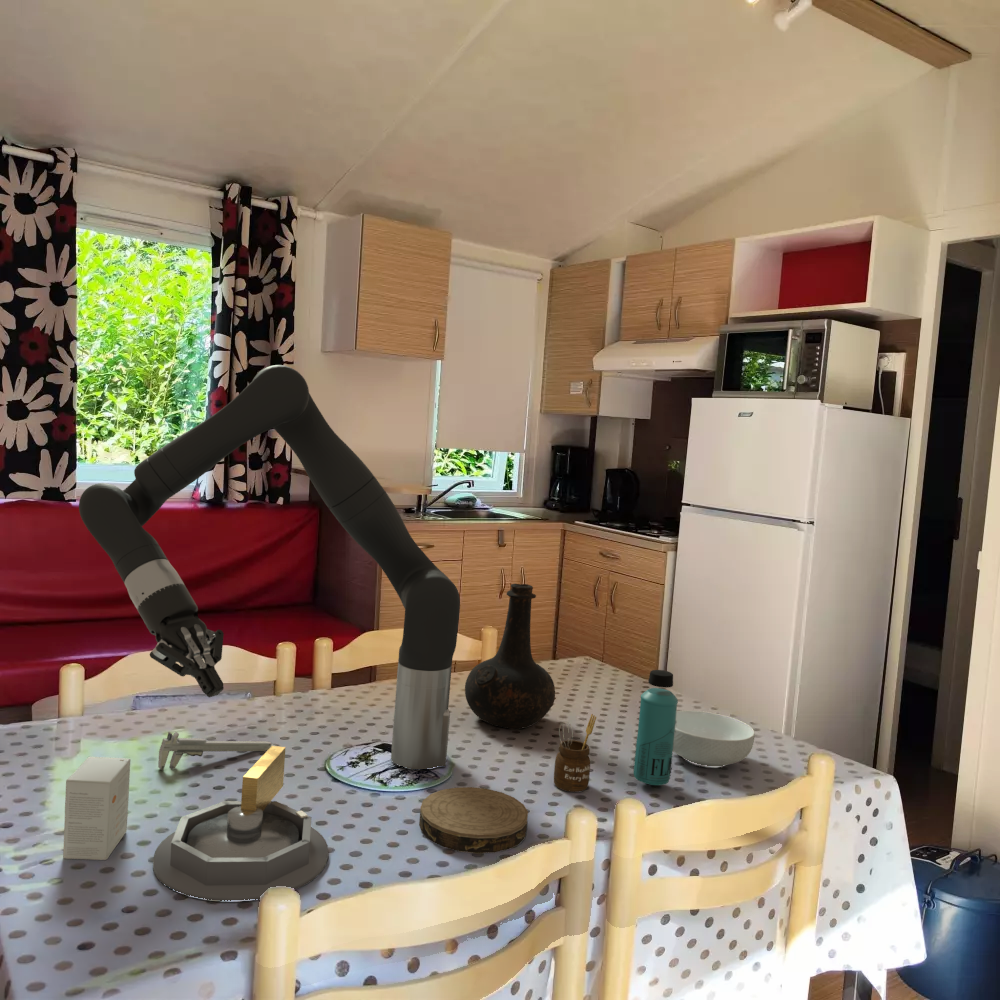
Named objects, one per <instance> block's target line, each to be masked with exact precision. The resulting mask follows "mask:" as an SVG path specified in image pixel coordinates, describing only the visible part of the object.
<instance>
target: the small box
mask: <svg viewBox="0 0 1000 1000" xmlns="http://www.w3.org/2000/svg"><path fill="white" fill-rule="evenodd" d="M130 774H131V758H124V757H106V756H105V757H104V756H102V757H101V756H88V757H87V758H86V759H85V760H84V761H83V762H82V763H81V764H80V765H79V766H78V768H76V770H75V771H74V772H73V773H72V774H71V775H70V776H69V777H68V778H67V779H66V780H65V802H64V803H65V806H64V825H63V826H64V829H63V850H62V851H63V852H62V854H63V855H62V858H63V859H65V860H66V859H67V860H72V859H73V860H93V861H107V860H108V858H109V857H110V855H111V854H112V853H113V852H114V850H115V848H116V847H117V845H119V843H120V841H121V840H122V838H123V837H124V836H125V834H126V833H127V830H128V816H129V815H128V814H129V812H128V811H129V795H130V794H129V793H130Z"/></svg>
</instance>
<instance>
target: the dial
mask: <svg viewBox="0 0 1000 1000" xmlns="http://www.w3.org/2000/svg"><path fill="white" fill-rule="evenodd" d="M286 748H287V747H286V746H277V745H275V746H271V747H270V748H269V750H267V751H265V753H264V754H262V756H261V757H260V758H259V759H258V760H257V761H256V762H255V763H254V764H253V765H252V766H251V768H249V770H248V771H246V773H245V774H243V776H242V785H241V799H240V801H241V806H239V807H236V808H233V809H231V810H230V811H229V812H228V813H227V814H222V815H218V816H215V817H212V818H209V819H207V820H205V821H203V822H201V823H199V824H198V825H196V826H195V827H194V828H193V829H192V830H191V831H190V833H189V835H188V841H187V845H189V846H191V847H193V848H195V849H197V850H198V851H200V852H202V853H204V854H206V855H208V856H210V857H211V858H248V857H266V856H268V855H271V854H273V853H275V852H277V851H280V850H282V849H284V848H286V847H288V846H291V845H293V844H295V843H297V842H298V838H299V832H298V829H297V827H296V826H295V825H294V824H293V823H292V822H291V821H289V820H288V819H286V818H283V817H281V816H278V815H275V814H270V813H264V812H263V810H264V809H265V808H266V807H267V805H268V804H269V803H270V802H271V801H273V799H274V798H275V797H276V796H277V794H278V793H279V792H280V791H281V789H282V788H283V787H284V780H285V779H284V775H285V761H286Z"/></svg>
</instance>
